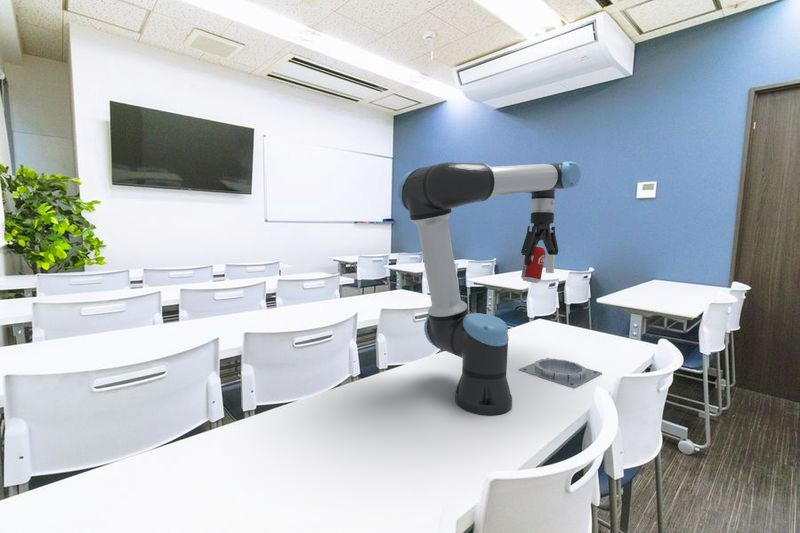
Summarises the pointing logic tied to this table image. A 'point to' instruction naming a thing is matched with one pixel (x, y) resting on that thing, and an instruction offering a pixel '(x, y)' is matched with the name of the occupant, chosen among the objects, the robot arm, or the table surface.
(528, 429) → the table surface
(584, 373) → the duct flange
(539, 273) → the beverage can
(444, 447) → the table surface
